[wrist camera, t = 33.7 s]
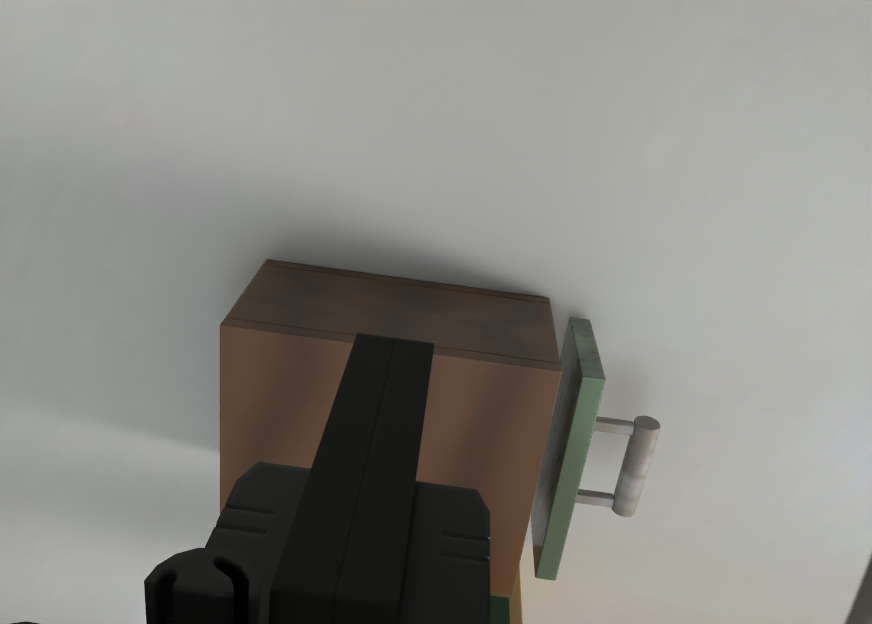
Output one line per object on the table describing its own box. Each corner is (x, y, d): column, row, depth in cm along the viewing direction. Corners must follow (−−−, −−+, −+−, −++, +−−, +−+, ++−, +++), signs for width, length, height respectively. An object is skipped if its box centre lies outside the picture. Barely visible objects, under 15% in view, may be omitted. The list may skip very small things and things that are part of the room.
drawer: (661, 328, 45) (688, 390, 38) (610, 512, 50) (627, 591, 44) (322, 282, 45) (295, 337, 38) (310, 470, 50) (285, 544, 44)
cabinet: (549, 297, 45) (561, 371, 37) (509, 496, 51) (512, 595, 44) (266, 258, 45) (219, 324, 37) (260, 462, 52) (219, 554, 44)
